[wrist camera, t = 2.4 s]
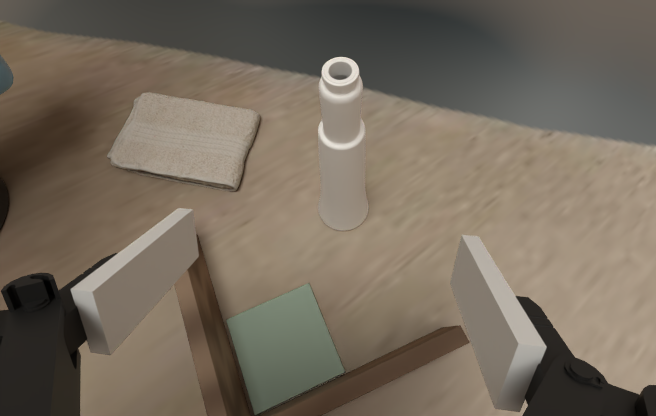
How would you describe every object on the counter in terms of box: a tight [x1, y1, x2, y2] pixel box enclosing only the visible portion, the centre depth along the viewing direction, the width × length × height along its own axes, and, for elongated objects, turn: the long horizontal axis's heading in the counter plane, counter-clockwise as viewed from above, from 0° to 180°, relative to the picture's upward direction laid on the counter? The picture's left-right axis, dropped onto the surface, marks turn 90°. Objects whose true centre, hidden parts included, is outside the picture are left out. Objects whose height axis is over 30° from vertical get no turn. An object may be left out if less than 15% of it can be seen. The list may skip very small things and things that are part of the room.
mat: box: [226, 283, 345, 415], centre depth 35 cm, size 10×10×1 cm
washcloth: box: [107, 92, 260, 192], centre depth 44 cm, size 12×18×3 cm, turn 79°
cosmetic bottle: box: [318, 57, 369, 231], centre depth 30 cm, size 6×6×22 cm
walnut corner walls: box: [174, 234, 470, 416], centre depth 34 cm, size 22×22×6 cm
